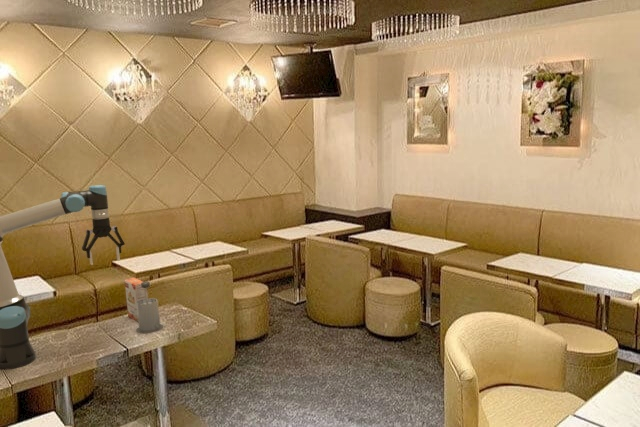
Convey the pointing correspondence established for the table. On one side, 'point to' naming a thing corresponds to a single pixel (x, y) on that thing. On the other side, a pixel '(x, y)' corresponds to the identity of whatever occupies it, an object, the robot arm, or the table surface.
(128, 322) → the table surface
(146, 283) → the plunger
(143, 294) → the cracker box
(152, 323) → the grey hexagonal cup
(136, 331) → the coaster
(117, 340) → the table surface
